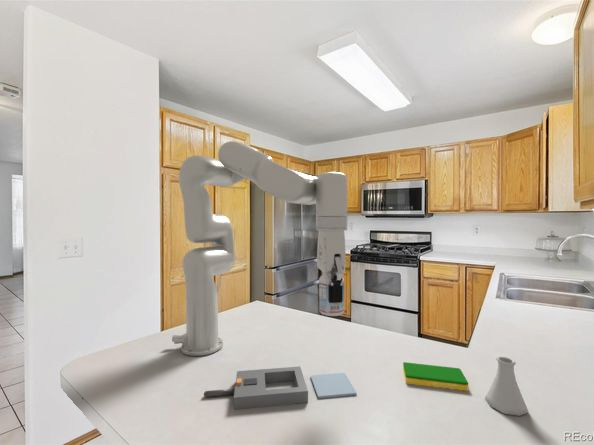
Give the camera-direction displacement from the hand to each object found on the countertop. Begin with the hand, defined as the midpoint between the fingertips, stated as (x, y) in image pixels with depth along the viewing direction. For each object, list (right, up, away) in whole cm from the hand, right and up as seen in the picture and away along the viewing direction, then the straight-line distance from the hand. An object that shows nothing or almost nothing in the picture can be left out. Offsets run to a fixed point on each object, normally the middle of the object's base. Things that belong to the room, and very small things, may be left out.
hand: (331, 297), depth 70 cm
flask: (+37, -21, -8) cm, 43 cm away
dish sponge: (+26, -22, +3) cm, 34 cm away
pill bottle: (0, -4, 0) cm, 4 cm away
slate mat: (0, -21, 0) cm, 21 cm away
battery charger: (-18, -21, -3) cm, 28 cm away
